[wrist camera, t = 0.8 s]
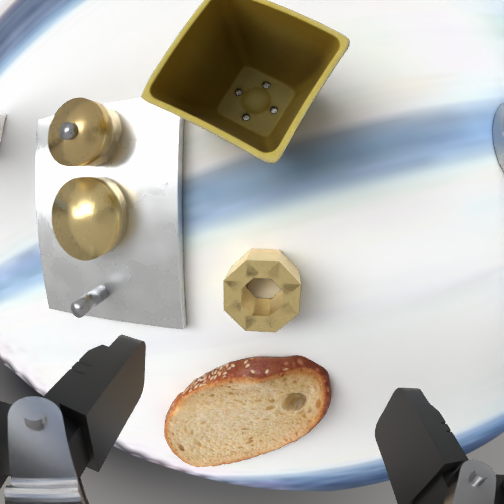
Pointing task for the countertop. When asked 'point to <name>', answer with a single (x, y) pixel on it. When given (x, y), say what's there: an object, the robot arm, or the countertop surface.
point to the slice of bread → (247, 409)
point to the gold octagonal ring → (261, 309)
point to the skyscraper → (2, 125)
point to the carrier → (112, 211)
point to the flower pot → (246, 72)
